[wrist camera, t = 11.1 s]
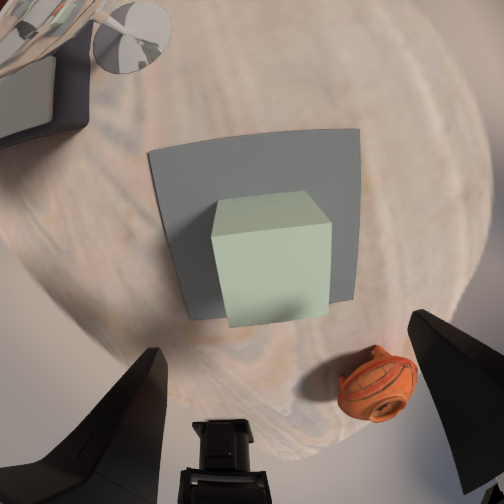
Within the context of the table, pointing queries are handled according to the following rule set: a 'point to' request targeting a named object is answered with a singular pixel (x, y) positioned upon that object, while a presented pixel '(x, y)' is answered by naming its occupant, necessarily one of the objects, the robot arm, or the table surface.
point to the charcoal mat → (253, 184)
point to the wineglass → (71, 23)
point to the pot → (378, 387)
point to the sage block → (272, 258)
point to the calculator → (48, 94)
